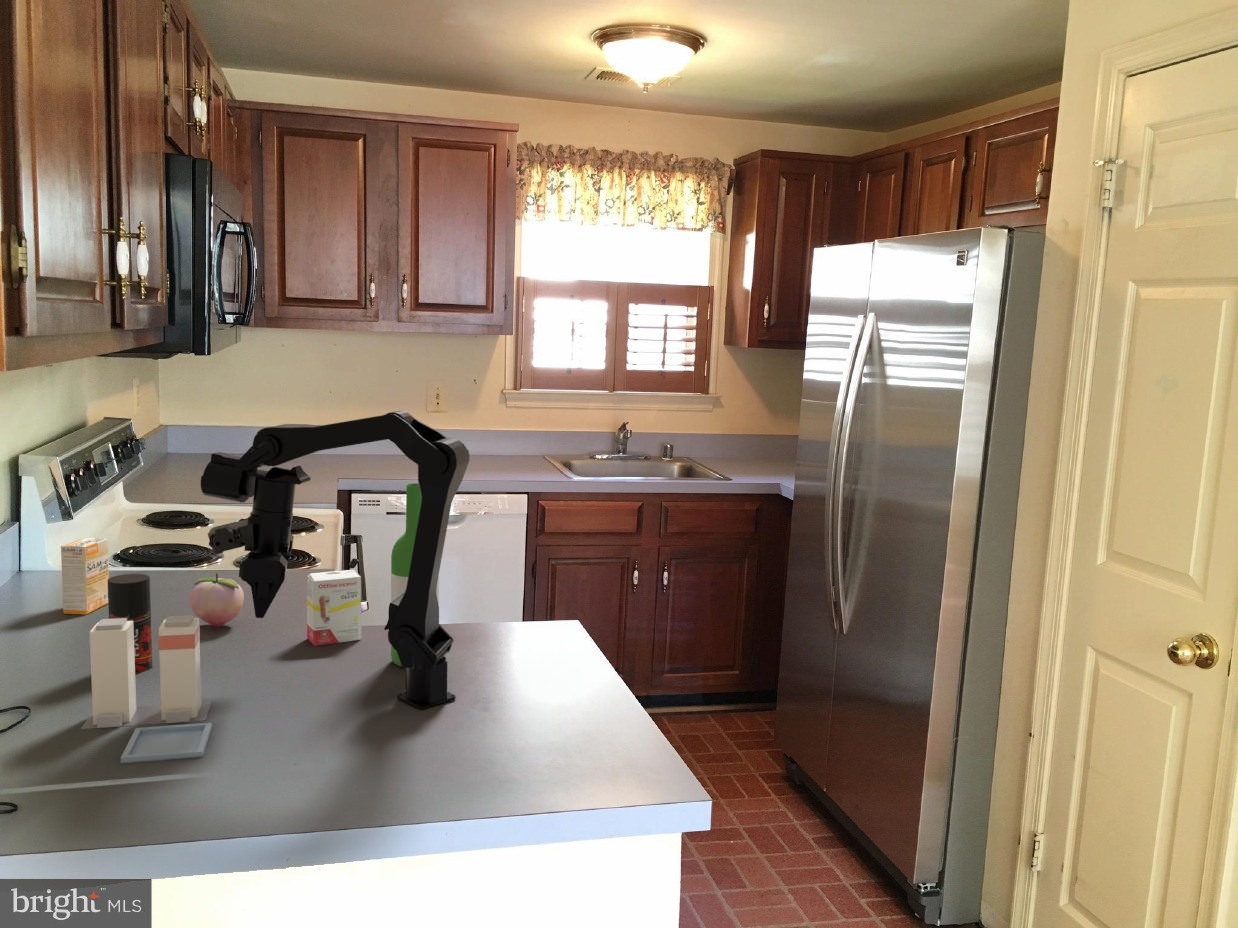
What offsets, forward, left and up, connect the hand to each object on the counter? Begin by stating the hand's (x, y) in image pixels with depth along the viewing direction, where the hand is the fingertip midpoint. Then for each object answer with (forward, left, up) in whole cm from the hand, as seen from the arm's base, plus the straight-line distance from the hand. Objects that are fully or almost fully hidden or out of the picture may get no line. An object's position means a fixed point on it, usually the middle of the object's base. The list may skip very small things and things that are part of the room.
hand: (262, 607), depth 148 cm
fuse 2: (-4, +14, -12) cm, 19 cm away
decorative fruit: (+33, -8, -13) cm, 36 cm away
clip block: (-1, +18, -12) cm, 22 cm away
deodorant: (+19, +12, -13) cm, 26 cm away
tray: (-13, +19, -12) cm, 26 cm away
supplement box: (+59, +6, -13) cm, 61 cm away
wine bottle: (-6, -24, -13) cm, 27 cm away
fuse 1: (+1, +21, -12) cm, 24 cm away
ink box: (+13, -20, -13) cm, 27 cm away
